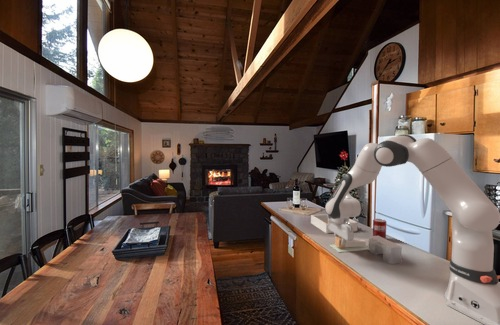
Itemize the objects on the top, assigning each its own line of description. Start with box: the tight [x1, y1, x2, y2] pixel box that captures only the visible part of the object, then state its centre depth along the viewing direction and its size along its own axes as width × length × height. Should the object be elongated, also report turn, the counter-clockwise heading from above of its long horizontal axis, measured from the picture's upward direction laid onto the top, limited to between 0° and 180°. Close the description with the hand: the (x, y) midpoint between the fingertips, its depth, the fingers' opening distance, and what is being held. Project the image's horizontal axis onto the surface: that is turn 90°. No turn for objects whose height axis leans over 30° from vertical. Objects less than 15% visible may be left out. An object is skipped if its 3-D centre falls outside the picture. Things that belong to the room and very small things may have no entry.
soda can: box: [372, 218, 387, 239], centre depth 152 cm, size 7×7×12 cm
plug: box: [334, 236, 367, 247], centre depth 140 cm, size 4×17×4 cm, turn 102°
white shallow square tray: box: [310, 213, 359, 234], centre depth 177 cm, size 23×23×6 cm
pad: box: [329, 243, 369, 253], centre depth 140 cm, size 10×20×1 cm, turn 101°
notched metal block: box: [367, 235, 403, 265], centre depth 128 cm, size 16×6×8 cm, turn 11°
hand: (339, 242), depth 138 cm, fingers closed on plug, 4 cm apart
